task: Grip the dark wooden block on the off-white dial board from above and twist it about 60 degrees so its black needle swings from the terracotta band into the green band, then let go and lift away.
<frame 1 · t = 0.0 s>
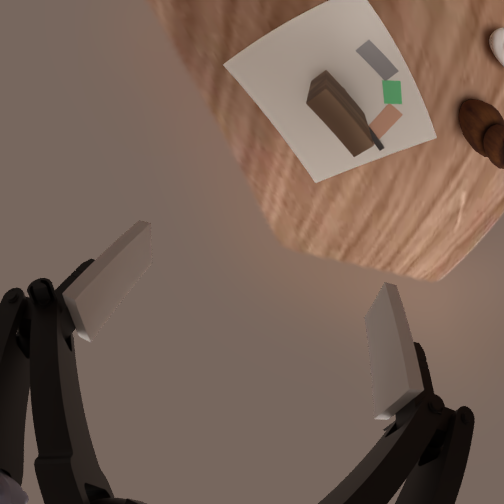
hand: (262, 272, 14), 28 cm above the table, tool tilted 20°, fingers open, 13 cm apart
dark wooden block: (356, 126, 26), point 7 cm above the table, hinge at 10.0°
wooden figurine: (470, 114, 24), on the table
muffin: (496, 44, 14), on the table
dial board: (337, 89, 29), on the table
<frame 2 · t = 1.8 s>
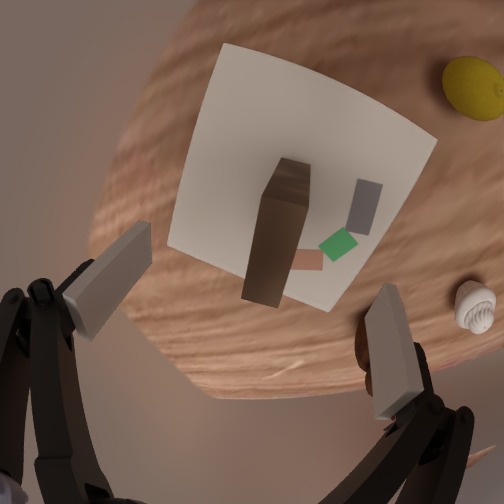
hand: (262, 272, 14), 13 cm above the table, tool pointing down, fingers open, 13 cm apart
dark wooden block: (273, 253, 21), point 7 cm above the table, hinge at 10.0°
lemon: (452, 87, 16), on the table
wooden figurine: (378, 315, 31), on the table
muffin: (465, 289, 26), on the table
dial board: (289, 188, 25), on the table
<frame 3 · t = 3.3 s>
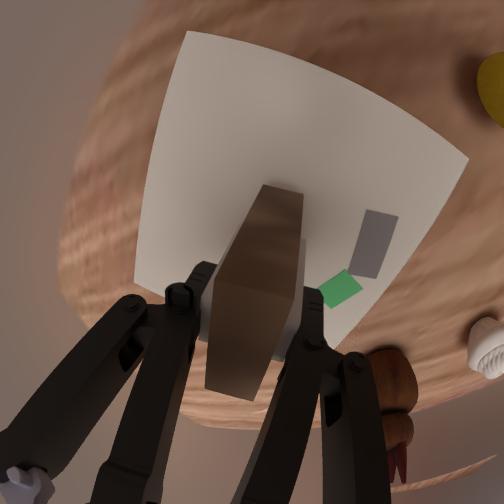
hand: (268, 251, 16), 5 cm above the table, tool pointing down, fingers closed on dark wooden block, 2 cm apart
dark wooden block: (251, 315, 16), point 7 cm above the table, hinge at 10.0°, touching gripper
lemon: (484, 90, 11), on the table
wooden figurine: (381, 357, 26), on the table
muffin: (480, 325, 21), on the table
dial board: (277, 219, 20), on the table
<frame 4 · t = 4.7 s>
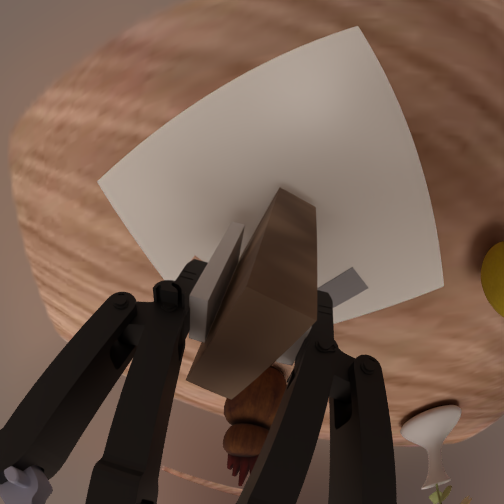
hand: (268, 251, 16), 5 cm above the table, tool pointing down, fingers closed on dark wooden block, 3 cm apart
dark wooden block: (237, 312, 16), point 7 cm above the table, hinge at 35.1°, touching gripper
lemon: (489, 251, 17), on the table
wooden figurine: (263, 371, 31), on the table
flower in vase: (432, 411, 32), on the table
dial board: (276, 220, 20), on the table
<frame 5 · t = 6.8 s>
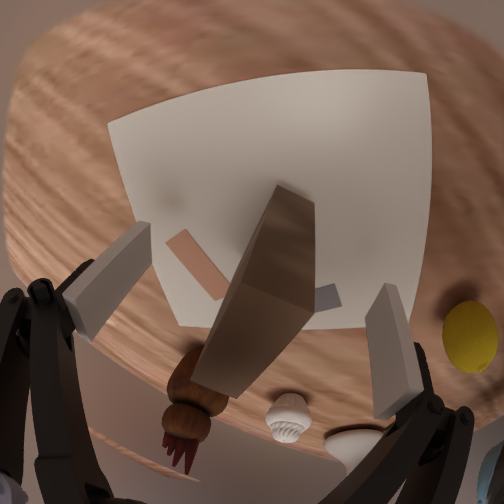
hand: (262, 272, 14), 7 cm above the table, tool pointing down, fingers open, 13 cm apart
dark wooden block: (240, 311, 16), point 7 cm above the table, hinge at 57.4°
lemon: (456, 304, 21), on the table
wooden figurine: (211, 356, 31), on the table
flower in vase: (357, 432, 38), on the table
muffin: (291, 396, 33), on the table
dial board: (277, 219, 20), on the table
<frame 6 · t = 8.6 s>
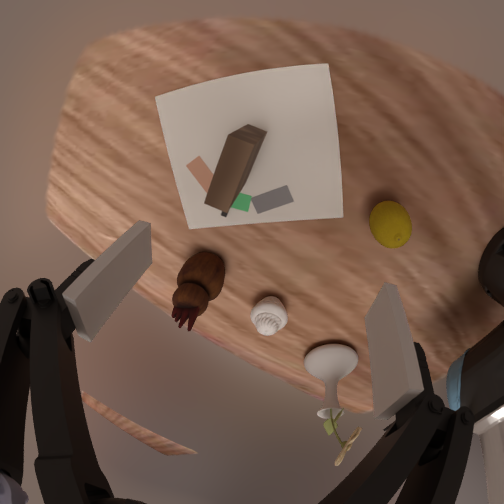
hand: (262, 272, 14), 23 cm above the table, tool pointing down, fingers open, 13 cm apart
dark wooden block: (230, 185, 29), point 7 cm above the table, hinge at 58.6°
lemon: (382, 210, 35), on the table
wooden figurine: (210, 261, 45), on the table
flower in vase: (332, 352, 52), on the table
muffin: (271, 302, 47), on the table
dial board: (251, 149, 34), on the table
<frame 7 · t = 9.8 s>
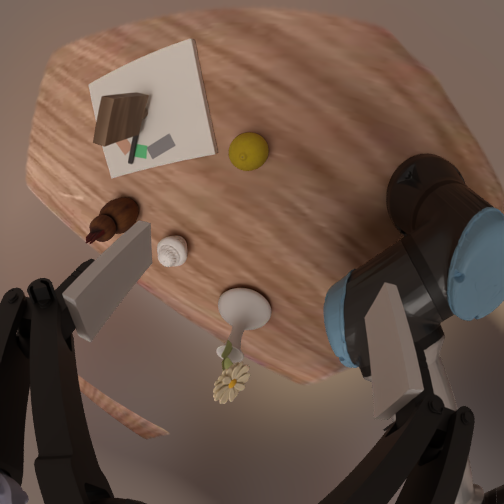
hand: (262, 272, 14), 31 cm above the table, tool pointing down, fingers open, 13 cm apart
dark wooden block: (120, 134, 36), point 7 cm above the table, hinge at 58.7°
lemon: (254, 146, 41), on the table
wooden figurine: (130, 206, 51), on the table
flower in vase: (247, 300, 58), on the table
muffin: (179, 242, 53), on the table
dial board: (147, 111, 40), on the table
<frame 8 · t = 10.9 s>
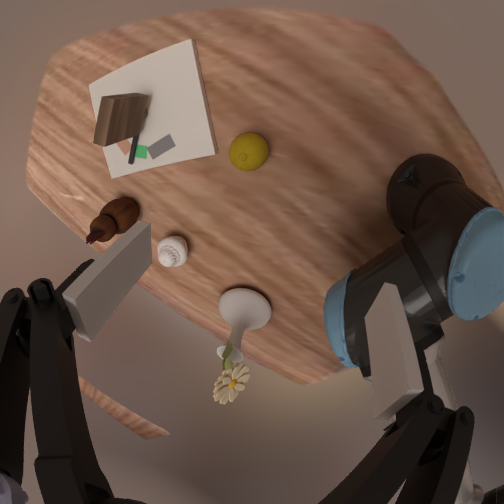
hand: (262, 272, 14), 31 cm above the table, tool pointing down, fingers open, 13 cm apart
dark wooden block: (120, 134, 36), point 7 cm above the table, hinge at 58.8°
lemon: (254, 146, 41), on the table
wooden figurine: (130, 206, 51), on the table
flower in vase: (247, 301, 58), on the table
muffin: (180, 242, 53), on the table
dial board: (147, 112, 40), on the table
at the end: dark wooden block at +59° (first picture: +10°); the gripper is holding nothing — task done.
